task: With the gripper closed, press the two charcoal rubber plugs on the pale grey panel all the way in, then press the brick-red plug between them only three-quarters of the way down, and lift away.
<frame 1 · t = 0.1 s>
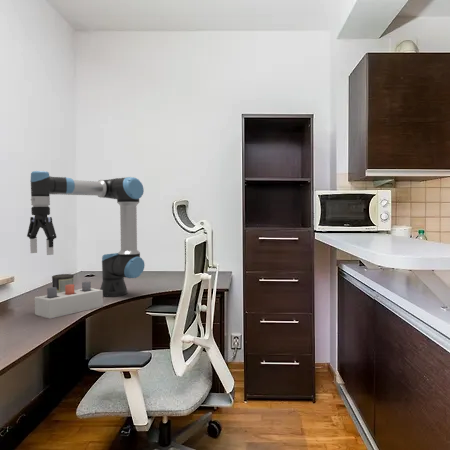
hand: (41, 253, 184), 28 cm above the table, fingers open, 13 cm apart
charcoal plug 1: (86, 289, 202), point 9 cm above the table, slide at 0.0 cm
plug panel: (70, 310, 195), on the table
red plug: (69, 292, 194), point 9 cm above the table, slide at 0.0 cm
coffee can: (63, 303, 210), on the table
charcoal plug 2: (52, 295, 187), point 9 cm above the table, slide at 0.0 cm
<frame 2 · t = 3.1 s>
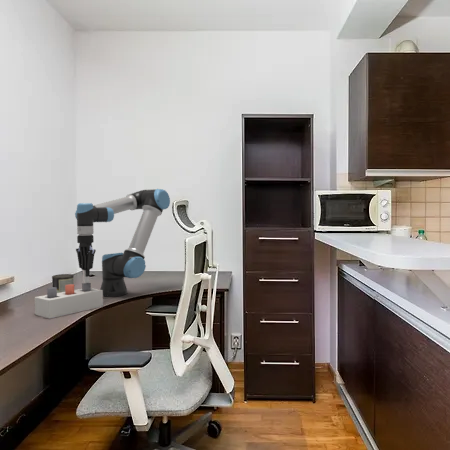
hand: (86, 282, 201), 12 cm above the table, fingers closed
charcoal plug 1: (86, 290, 202), point 8 cm above the table, slide at 0.6 cm, touching gripper
everything else where it was.
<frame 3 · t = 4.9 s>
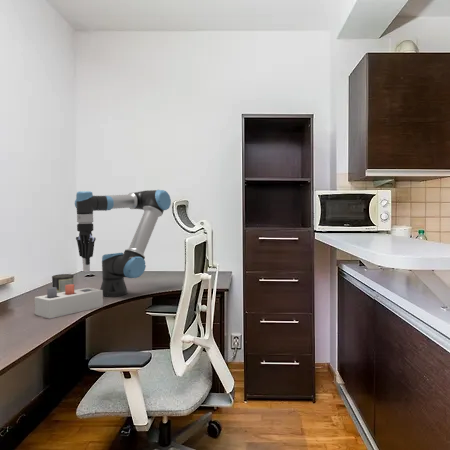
hand: (86, 271, 201), 17 cm above the table, fingers closed
charcoal plug 1: (86, 297, 202), point 5 cm above the table, slide at 3.8 cm
everything else where it was.
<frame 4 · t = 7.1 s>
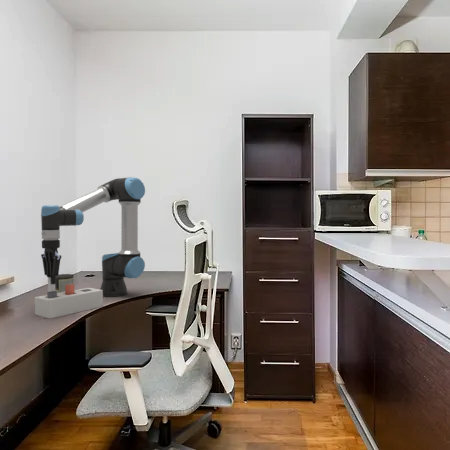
hand: (51, 291, 187), 11 cm above the table, fingers closed
charcoal plug 2: (52, 299, 187), point 7 cm above the table, slide at 1.7 cm, touching gripper
everything else where it was.
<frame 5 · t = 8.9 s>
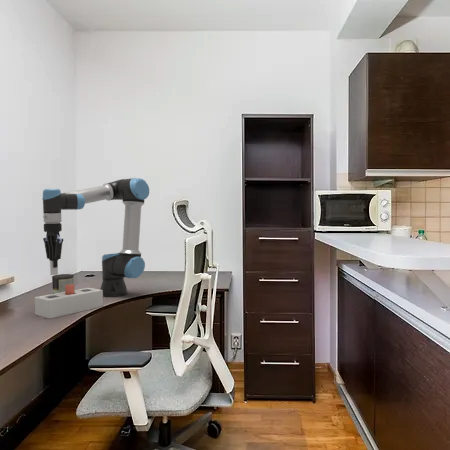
hand: (54, 274, 188), 18 cm above the table, fingers closed
charcoal plug 2: (52, 304, 187), point 5 cm above the table, slide at 3.8 cm
everything else where it was.
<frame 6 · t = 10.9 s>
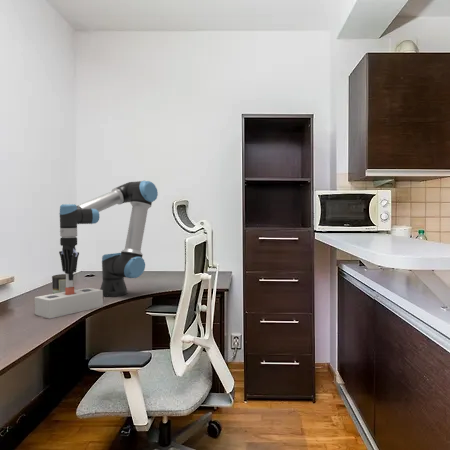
hand: (69, 286, 194), 11 cm above the table, fingers closed
red plug: (69, 294, 194), point 7 cm above the table, slide at 1.1 cm, touching gripper
everything else where it was.
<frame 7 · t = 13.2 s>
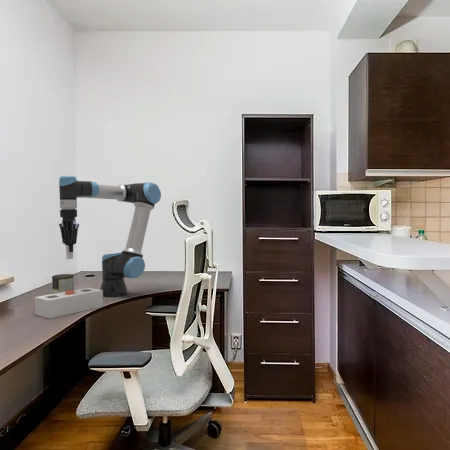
hand: (69, 258, 194), 24 cm above the table, fingers closed
red plug: (70, 298, 194), point 6 cm above the table, slide at 2.8 cm
everything else where it was.
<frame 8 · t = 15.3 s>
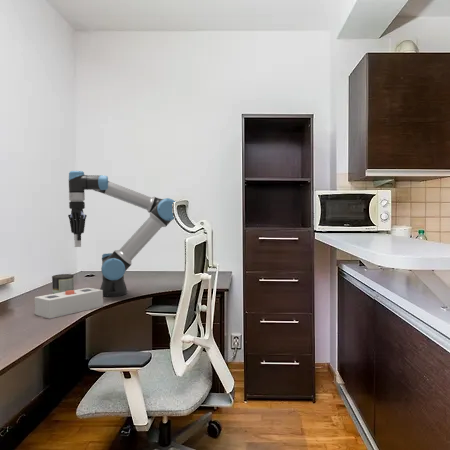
hand: (77, 246, 213), 28 cm above the table, fingers closed
nothing on the table moved.
at the end: charcoal plug 1 slide at 3.8 cm; charcoal plug 2 slide at 3.8 cm; red plug slide at 2.8 cm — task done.
